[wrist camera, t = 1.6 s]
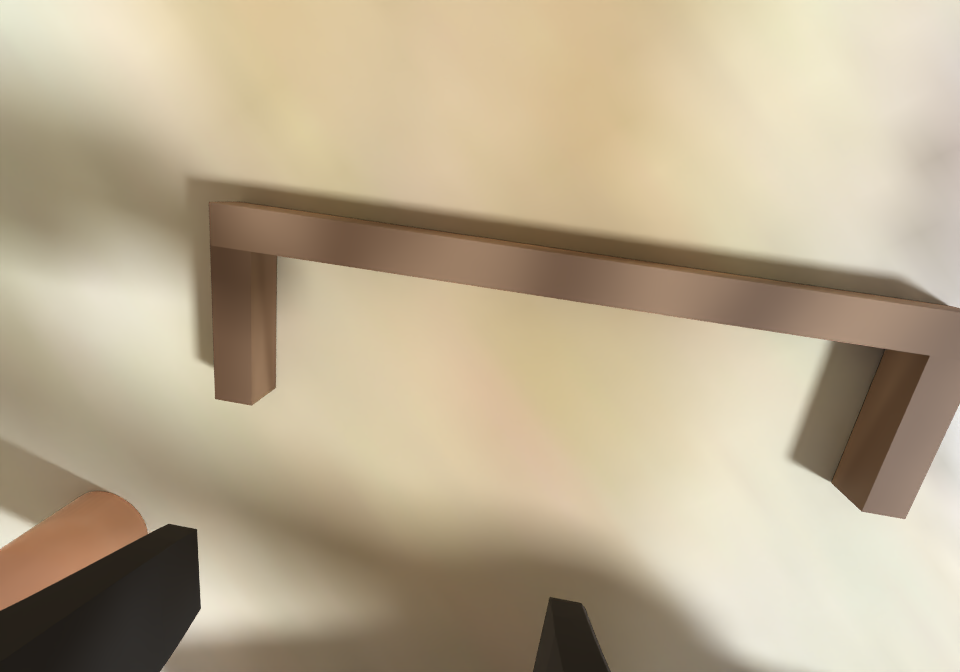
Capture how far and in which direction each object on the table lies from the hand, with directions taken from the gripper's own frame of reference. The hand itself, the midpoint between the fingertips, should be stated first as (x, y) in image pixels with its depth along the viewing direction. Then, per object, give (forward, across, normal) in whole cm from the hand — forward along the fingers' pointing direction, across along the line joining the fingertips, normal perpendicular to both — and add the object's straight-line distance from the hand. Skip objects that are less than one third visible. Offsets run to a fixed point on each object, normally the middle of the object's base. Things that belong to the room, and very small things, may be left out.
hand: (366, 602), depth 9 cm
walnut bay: (+10, -4, -2) cm, 11 cm away
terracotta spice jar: (+10, +16, +10) cm, 22 cm away
